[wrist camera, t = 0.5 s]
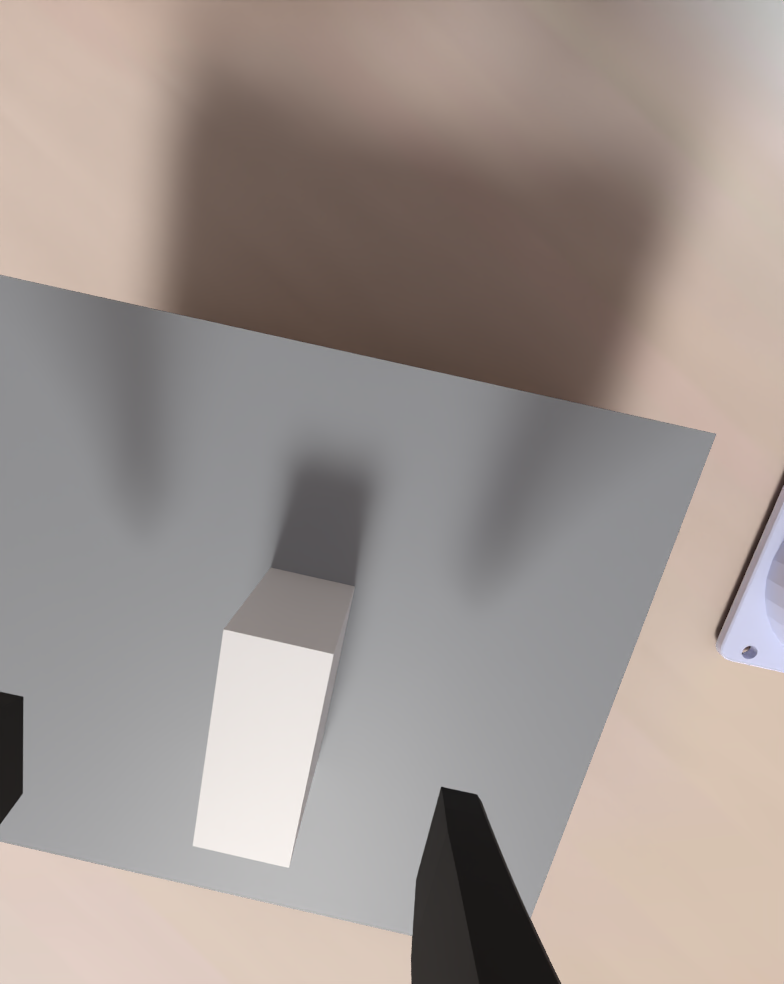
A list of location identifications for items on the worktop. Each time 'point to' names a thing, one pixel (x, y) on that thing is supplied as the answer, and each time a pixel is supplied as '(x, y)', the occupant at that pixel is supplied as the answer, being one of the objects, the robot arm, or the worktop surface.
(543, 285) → the worktop surface
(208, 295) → the worktop surface
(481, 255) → the worktop surface
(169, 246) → the worktop surface
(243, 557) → the lid
